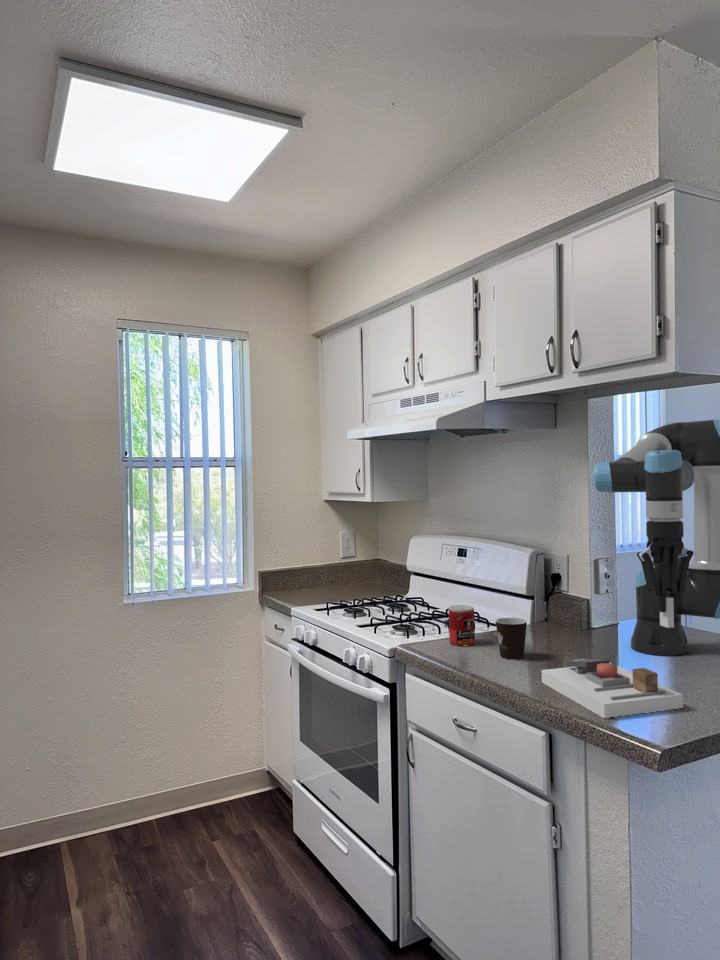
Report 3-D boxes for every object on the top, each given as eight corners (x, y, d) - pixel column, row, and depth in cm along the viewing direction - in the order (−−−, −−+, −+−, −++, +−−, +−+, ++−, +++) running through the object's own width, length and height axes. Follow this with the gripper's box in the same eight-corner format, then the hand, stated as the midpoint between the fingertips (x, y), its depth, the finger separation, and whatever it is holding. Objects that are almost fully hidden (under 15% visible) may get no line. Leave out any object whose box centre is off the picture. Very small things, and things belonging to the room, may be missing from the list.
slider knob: (644, 685, 150) (644, 667, 150) (657, 691, 146) (657, 673, 146) (632, 687, 149) (632, 669, 149) (645, 693, 145) (645, 674, 145)
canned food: (458, 647, 199) (457, 610, 199) (444, 642, 207) (443, 606, 207) (480, 644, 203) (479, 608, 202) (465, 639, 210) (464, 603, 210)
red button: (609, 671, 157) (609, 662, 157) (621, 676, 153) (621, 667, 153) (593, 672, 156) (593, 664, 156) (604, 678, 152) (604, 669, 152)
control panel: (610, 674, 169) (609, 657, 169) (683, 708, 144) (682, 688, 144) (541, 682, 165) (541, 664, 165) (604, 718, 139) (604, 697, 139)
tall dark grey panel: (588, 664, 167) (587, 658, 167) (609, 665, 159) (608, 659, 159) (566, 666, 166) (565, 660, 166) (586, 667, 157) (585, 661, 157)
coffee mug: (528, 661, 184) (527, 624, 183) (496, 660, 185) (495, 623, 185) (526, 650, 195) (525, 615, 195) (496, 649, 197) (495, 615, 197)
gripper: (649, 522, 144) (652, 632, 144) (701, 519, 147) (704, 627, 147) (628, 520, 151) (630, 625, 151) (678, 518, 154) (680, 620, 154)
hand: (666, 626), depth 149 cm, fingers closed
